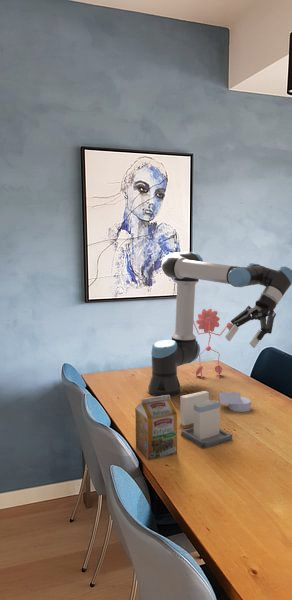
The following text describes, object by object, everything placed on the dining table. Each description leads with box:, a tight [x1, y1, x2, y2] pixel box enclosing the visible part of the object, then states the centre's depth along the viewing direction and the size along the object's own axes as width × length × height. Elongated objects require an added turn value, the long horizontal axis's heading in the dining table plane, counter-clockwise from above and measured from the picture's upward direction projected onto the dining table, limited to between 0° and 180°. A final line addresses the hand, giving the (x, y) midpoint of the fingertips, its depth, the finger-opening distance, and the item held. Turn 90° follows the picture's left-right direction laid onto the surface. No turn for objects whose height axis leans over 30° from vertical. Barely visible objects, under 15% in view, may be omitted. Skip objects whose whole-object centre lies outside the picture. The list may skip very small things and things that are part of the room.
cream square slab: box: [179, 390, 211, 430], centre depth 182 cm, size 3×12×12 cm, turn 122°
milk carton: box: [134, 395, 178, 461], centre depth 159 cm, size 11×11×19 cm
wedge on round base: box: [218, 391, 252, 413], centre depth 199 cm, size 9×7×13 cm
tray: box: [180, 426, 233, 450], centre depth 170 cm, size 13×13×2 cm
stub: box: [193, 399, 221, 440], centre depth 169 cm, size 4×9×12 cm, turn 122°
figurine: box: [188, 308, 233, 379], centre depth 246 cm, size 15×26×35 cm, turn 96°
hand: (239, 342), depth 180 cm, fingers open, 13 cm apart
